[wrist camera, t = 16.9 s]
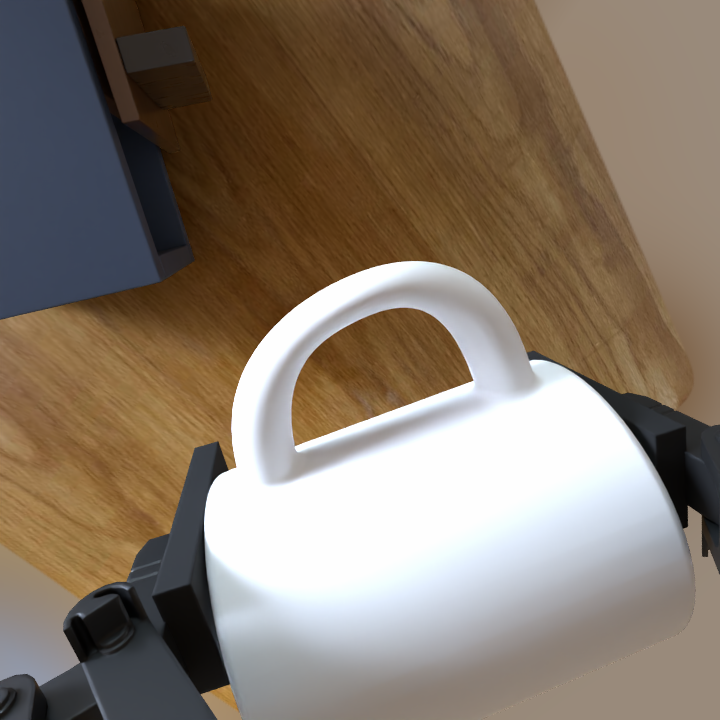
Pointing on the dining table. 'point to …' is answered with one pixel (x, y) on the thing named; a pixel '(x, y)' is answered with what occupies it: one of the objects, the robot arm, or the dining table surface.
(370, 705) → the mug
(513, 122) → the dining table surface
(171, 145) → the sliding door
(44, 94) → the cabinet
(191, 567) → the robot arm
